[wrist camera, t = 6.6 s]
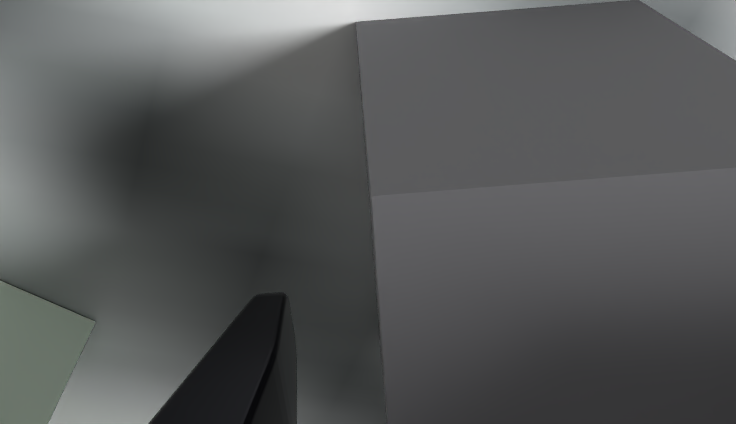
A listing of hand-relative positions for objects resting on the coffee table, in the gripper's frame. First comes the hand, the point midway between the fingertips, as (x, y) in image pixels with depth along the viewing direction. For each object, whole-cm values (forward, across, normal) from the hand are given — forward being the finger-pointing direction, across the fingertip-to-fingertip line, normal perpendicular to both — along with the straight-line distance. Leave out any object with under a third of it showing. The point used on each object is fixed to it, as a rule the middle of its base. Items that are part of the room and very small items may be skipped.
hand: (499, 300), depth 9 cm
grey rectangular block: (+3, 0, 0) cm, 3 cm away
